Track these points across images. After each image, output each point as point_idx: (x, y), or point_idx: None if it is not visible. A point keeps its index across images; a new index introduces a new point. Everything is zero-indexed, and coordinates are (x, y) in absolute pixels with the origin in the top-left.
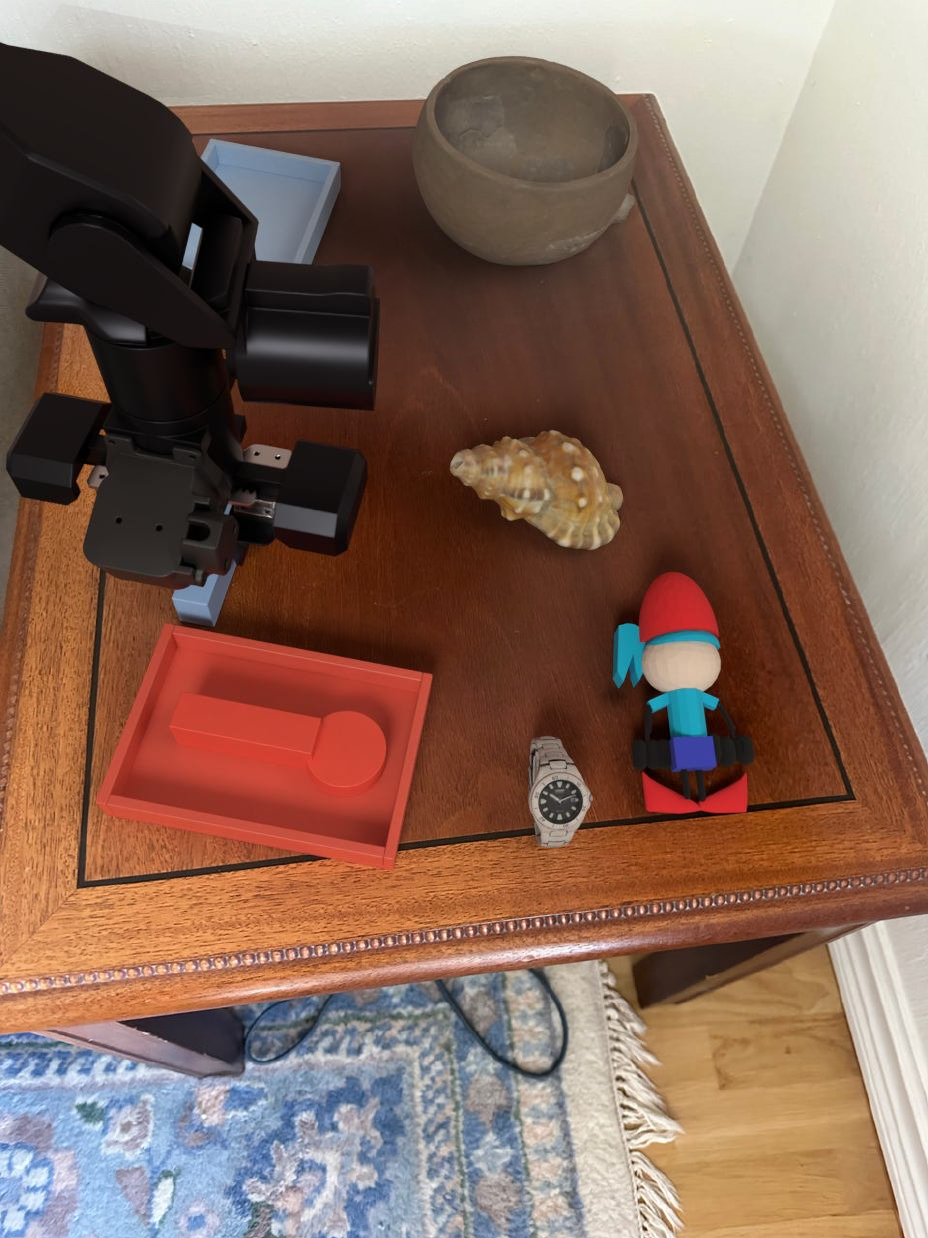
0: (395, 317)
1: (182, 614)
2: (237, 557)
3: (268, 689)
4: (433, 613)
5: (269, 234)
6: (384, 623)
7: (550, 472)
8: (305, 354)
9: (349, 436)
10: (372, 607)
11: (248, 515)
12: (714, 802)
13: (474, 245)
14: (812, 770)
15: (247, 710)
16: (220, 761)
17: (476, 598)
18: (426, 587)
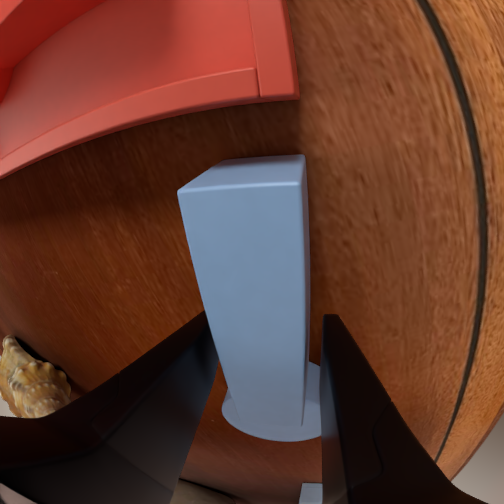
0: (227, 477)
1: (288, 161)
2: (184, 337)
3: (69, 81)
4: (23, 271)
5: None
6: (37, 249)
7: (12, 398)
8: None
9: (204, 434)
10: (55, 267)
11: (4, 489)
12: None
13: (189, 500)
14: None
15: (6, 8)
16: None
17: (18, 291)
18: (42, 298)
